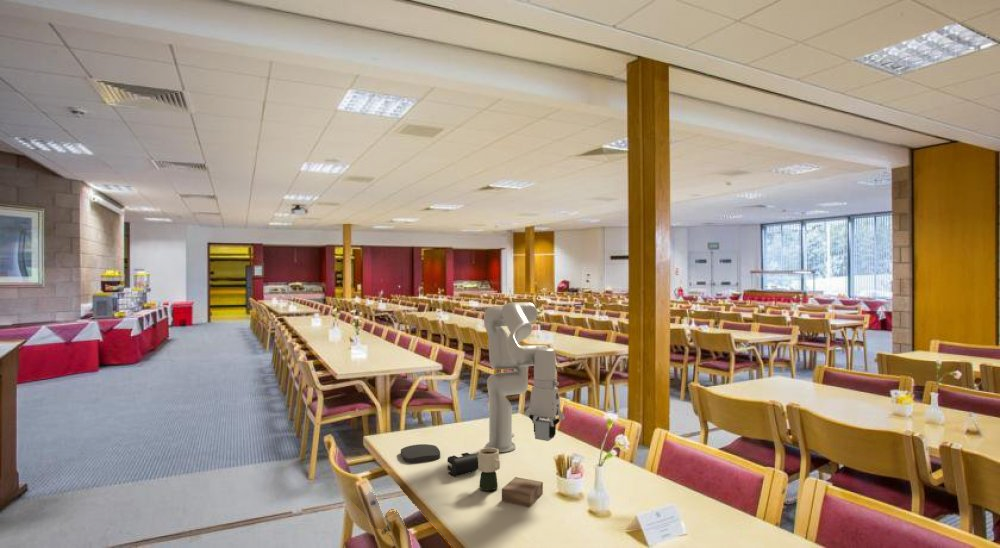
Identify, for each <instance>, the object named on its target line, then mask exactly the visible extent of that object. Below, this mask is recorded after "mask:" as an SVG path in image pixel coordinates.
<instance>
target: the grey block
mask: <svg viewBox="0 0 1000 548" xmlns="http://www.w3.org/2000/svg"><path fill="white" fill-rule="evenodd" d="M550 426H551V424H550V420H549V418H544V417H540V418H539V420H537V421H535V432H534V439H535V440H540V441H546V442H549V441H551V440H552V439H554V438H555V436H554V437H552V438H550V437H549V427H550Z"/></svg>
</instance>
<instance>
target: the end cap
mask: <svg viewBox="0 0 1000 548" xmlns="http://www.w3.org/2000/svg"><path fill="white" fill-rule="evenodd" d="M460 455H461V456H457V455H451V456H448V457H447V461H446V462H447V463H449V464H450V465H451V466H450V465H449V464H448V465H447V470H448V472H447V474H448V475H449V476H451V477H452V478H456V477H459V476H463V475H466V474H471V473H474V472H476V471H477V470H479V468H478V454H476V453H469V452H464V453H463V452H462V453H461V454H460Z"/></svg>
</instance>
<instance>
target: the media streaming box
mask: <svg viewBox="0 0 1000 548" xmlns="http://www.w3.org/2000/svg"><path fill="white" fill-rule="evenodd" d="M400 457H401V458H402V460H403V462H405V463H408V464H419V463H427V462H433V461H437V460H439V459H441V450H440V449H439V447H438V446H436V445H434V444H426V443H425V444H424V443H423V444H422V443H421V444H419V443H417V444H412V445H408V446H407V445H406V446H405V447H402V448H401V449H400Z"/></svg>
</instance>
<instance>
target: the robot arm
mask: <svg viewBox="0 0 1000 548" xmlns="http://www.w3.org/2000/svg"><path fill="white" fill-rule="evenodd" d="M537 318H538V310H537V307H536V306H535V304H533V303H532V302H529V301H523V302H522V301H521V302H520V301H519V302H514V301H513V302H508V303H505V304H504V305H500V306H499V305H498V306H490V307H488V308H486V309H485V311H484V315H483V324H484V327H485V330H486V334H487V337H488V338H487V339H488V357H489V358H488V359H489V364H490V367H491V368H492V369H493V370H514V371H508V372H506V371H505V372H504V371H503V372H496V373H493V374H491V375H489V376H488V377H487V381H486V387H487V392H488V402H489V404H488V405H489V407H488V414H489V415H488V417H489V418H488V419H489V421H488V424H489V425H488V427H489V428H488V429H489V430H488V432H489V433H488V434H489V435H488V436H489V438H488V440H489V441H488V442H487V443H486V444H485V448H495V449H498V451H499V453H507V452H511V451H513V450H515V449H516V444H515V442H513V441H512V440H513V438H514V437H515V434H514V433H513V430H512V429H513V427H512V426H513V425H512V424H513V423H512V421H513V418H512V417H513V416H512V415H513V411H512V410H513V409H512V408H513V407H512V404H511V402H510V400H509V399H508V398H507V396H512V395H522V394H525V393H526V392H527V391H528V385H529V377H528V367H533V386H532V387H531V391H530V398H529V406H528V407H527V409H526V410H525V411H524V413H525V414H526V415H527V416H528V417H529V419H530V420H531V422H532V424H533V432H534V433H535V421H537V420H539V419H541V418H546V419H549V420H550V424H551V426H550V427H549V437H550V438H552V437H554V438H555V436H556V432H557V429H556V426H557V425H558V424H559V423H560V422H561V421H562V420H564V419H565V415H564V413H563V412H562V410H561V399H560V392H559V388H558V386H559V385H560V382H559V381H557V379H556V351H555V349H553V348H552V347H551V348H550V347H548V345H546V344H525V345H519V343H520V342H522V341H524V340H526V339H527V338H528V337H529V336H530V335H532V332H533V325H532V324H533V323H534V322H535V321H536V320H537ZM503 327H507V329H508V330H509V334H508V333H507V331H506V330H505V329H504V328H503ZM557 416H558V417H557ZM552 439H553V438H552Z"/></svg>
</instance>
